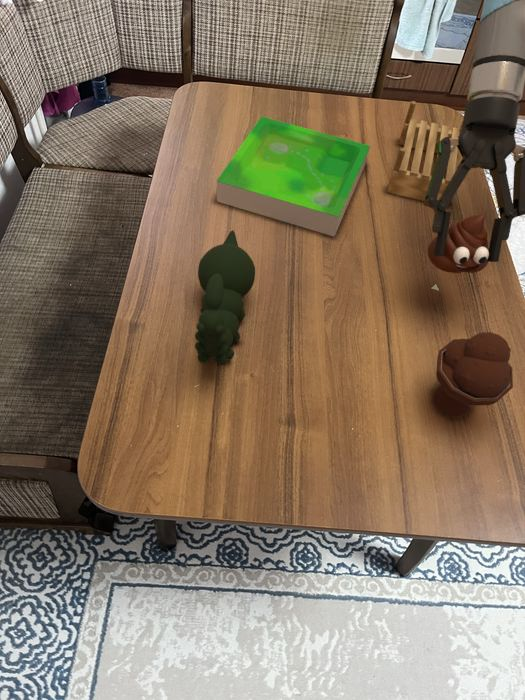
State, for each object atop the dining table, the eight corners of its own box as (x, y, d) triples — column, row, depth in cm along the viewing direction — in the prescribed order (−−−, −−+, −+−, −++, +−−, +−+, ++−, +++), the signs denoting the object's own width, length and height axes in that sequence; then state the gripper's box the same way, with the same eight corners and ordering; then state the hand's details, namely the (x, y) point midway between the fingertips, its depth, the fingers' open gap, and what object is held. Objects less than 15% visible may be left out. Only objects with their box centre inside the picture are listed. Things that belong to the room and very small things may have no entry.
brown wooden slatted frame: (455, 153, 123) (471, 112, 115) (448, 206, 112) (466, 165, 104) (398, 140, 125) (411, 99, 117) (386, 192, 113) (399, 151, 105)
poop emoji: (477, 241, 90) (500, 196, 82) (493, 278, 85) (519, 234, 78) (420, 241, 89) (438, 196, 82) (433, 279, 84) (453, 234, 77)
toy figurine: (242, 386, 85) (257, 264, 98) (244, 321, 69) (263, 185, 81) (183, 379, 85) (207, 259, 98) (172, 313, 69) (202, 178, 81)
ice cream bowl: (410, 374, 87) (441, 316, 74) (475, 372, 88) (516, 314, 75) (426, 433, 80) (462, 380, 68) (496, 430, 82) (545, 378, 69)
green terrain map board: (216, 201, 108) (216, 180, 104) (259, 136, 122) (261, 116, 118) (334, 236, 104) (338, 216, 100) (364, 165, 118) (370, 145, 114)
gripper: (549, 117, 82) (520, 265, 86) (417, 102, 82) (394, 251, 86) (576, 102, 75) (543, 266, 78) (430, 86, 75) (405, 250, 79)
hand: (465, 258), depth 82 cm, fingers closed on poop emoji, 8 cm apart
